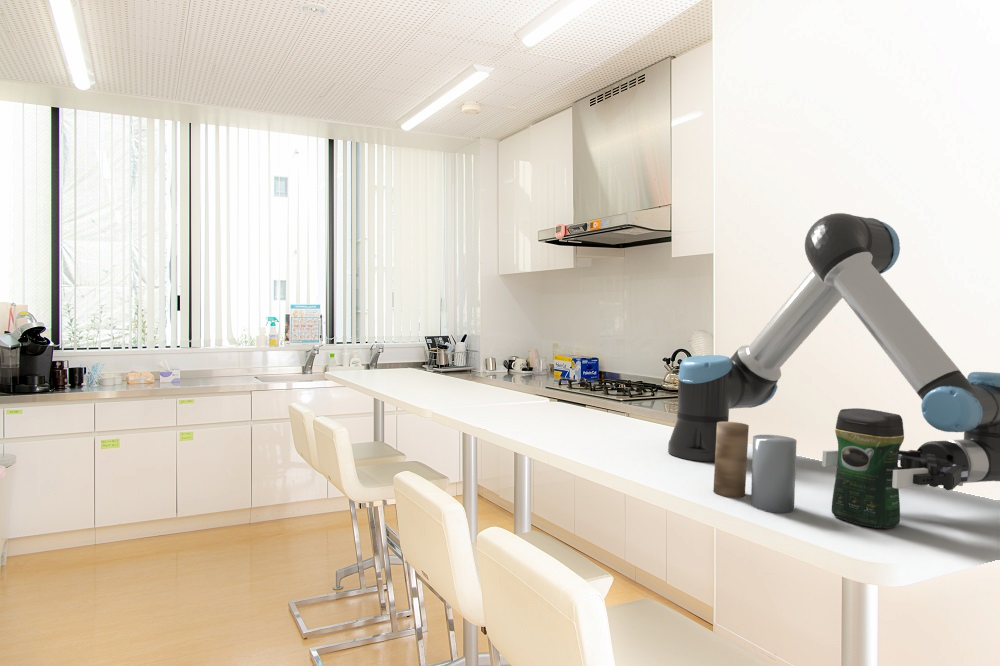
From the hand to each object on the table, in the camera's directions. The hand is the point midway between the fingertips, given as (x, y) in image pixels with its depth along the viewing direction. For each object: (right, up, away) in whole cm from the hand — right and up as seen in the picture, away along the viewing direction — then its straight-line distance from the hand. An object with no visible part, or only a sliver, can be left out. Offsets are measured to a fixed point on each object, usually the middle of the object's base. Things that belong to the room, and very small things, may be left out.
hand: (857, 468), depth 107 cm
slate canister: (-11, -8, +7) cm, 15 cm away
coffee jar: (+2, -9, +1) cm, 9 cm away
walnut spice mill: (-16, -8, +15) cm, 23 cm away
